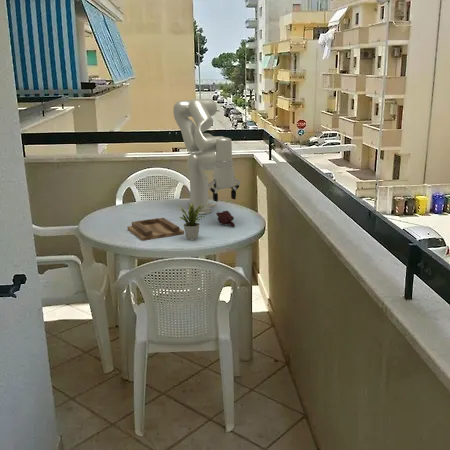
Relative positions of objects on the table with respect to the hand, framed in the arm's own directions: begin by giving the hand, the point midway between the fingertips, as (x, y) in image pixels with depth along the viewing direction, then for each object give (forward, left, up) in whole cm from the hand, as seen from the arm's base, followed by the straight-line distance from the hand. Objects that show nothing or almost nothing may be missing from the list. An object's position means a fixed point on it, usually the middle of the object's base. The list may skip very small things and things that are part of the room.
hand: (224, 200), depth 243 cm
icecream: (0, 0, -12) cm, 12 cm away
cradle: (+34, -5, -12) cm, 36 cm away
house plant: (+23, +13, -12) cm, 29 cm away
